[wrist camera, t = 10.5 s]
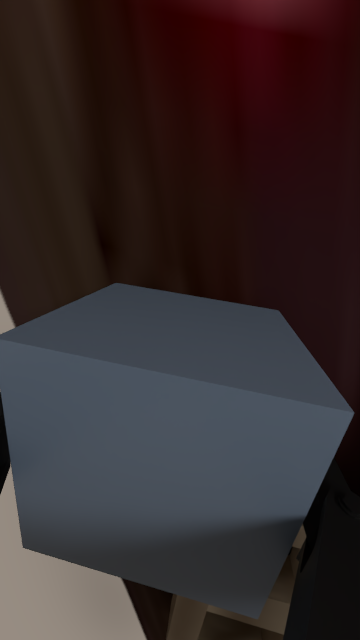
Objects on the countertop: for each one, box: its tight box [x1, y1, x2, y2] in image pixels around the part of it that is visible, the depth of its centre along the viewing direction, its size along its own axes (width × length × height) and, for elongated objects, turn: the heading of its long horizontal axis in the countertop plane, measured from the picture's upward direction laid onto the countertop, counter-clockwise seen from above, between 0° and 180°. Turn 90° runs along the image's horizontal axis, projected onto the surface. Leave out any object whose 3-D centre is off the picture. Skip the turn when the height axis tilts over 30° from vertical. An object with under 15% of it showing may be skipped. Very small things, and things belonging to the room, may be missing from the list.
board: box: [166, 524, 306, 640], centre depth 20 cm, size 11×20×3 cm, turn 172°
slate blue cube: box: [0, 283, 354, 619], centre depth 11 cm, size 9×9×8 cm
